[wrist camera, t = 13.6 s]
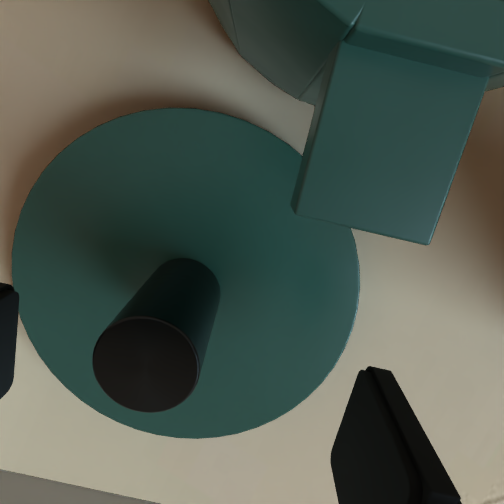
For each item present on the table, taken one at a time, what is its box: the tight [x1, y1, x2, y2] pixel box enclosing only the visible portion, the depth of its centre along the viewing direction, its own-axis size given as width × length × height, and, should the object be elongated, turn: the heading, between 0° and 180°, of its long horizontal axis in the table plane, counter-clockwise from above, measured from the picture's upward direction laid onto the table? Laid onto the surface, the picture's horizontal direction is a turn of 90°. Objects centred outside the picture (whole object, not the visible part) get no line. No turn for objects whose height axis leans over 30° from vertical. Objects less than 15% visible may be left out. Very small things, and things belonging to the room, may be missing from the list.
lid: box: [12, 108, 360, 439], centre depth 12 cm, size 13×13×6 cm
